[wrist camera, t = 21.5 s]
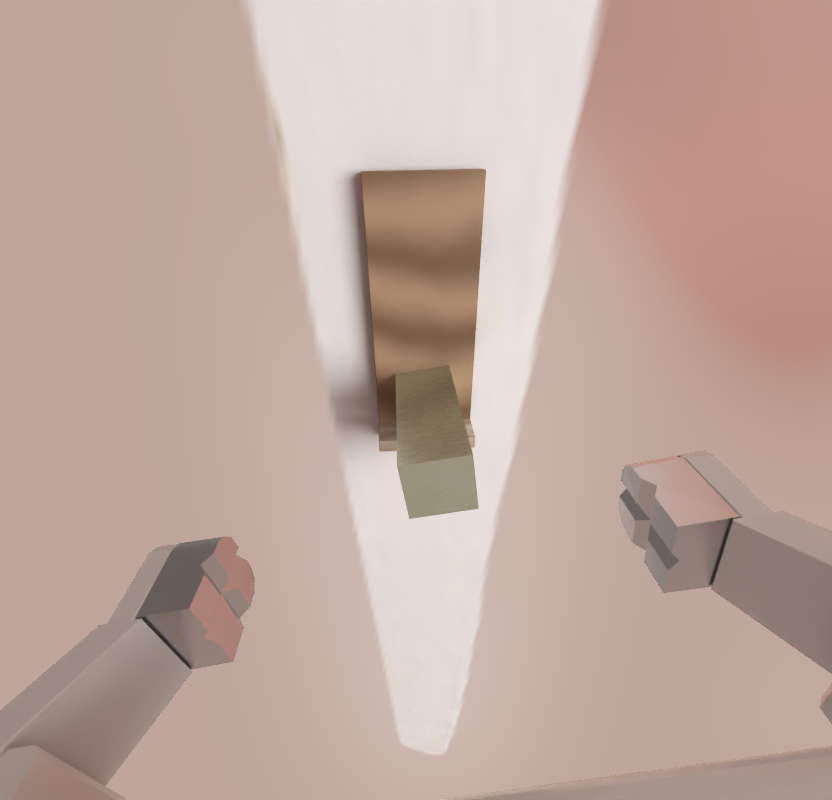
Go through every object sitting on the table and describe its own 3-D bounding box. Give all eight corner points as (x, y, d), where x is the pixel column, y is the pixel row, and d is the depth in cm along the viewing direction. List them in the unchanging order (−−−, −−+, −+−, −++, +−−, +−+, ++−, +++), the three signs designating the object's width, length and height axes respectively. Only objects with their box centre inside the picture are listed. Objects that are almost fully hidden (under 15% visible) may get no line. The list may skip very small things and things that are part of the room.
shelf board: (362, 171, 31) (358, 174, 27) (482, 168, 31) (494, 171, 27) (381, 433, 43) (380, 459, 40) (466, 430, 43) (473, 455, 40)
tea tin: (395, 373, 38) (397, 466, 27) (449, 365, 38) (472, 454, 27) (404, 419, 41) (409, 520, 30) (454, 411, 41) (478, 510, 30)
